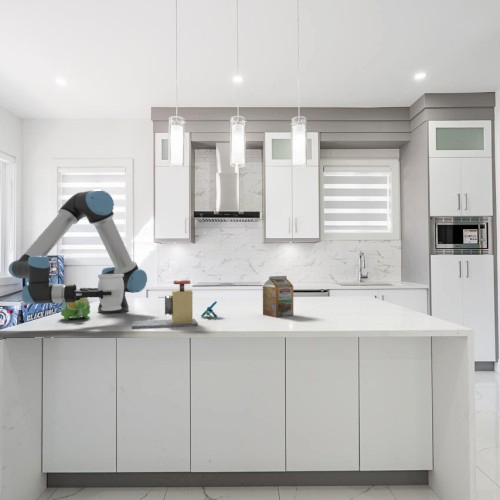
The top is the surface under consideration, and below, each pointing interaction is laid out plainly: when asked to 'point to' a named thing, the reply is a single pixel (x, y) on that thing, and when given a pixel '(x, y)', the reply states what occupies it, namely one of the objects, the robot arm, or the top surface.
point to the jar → (111, 284)
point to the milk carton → (278, 297)
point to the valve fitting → (173, 310)
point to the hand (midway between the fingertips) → (121, 291)
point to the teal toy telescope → (209, 311)
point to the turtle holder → (76, 309)
